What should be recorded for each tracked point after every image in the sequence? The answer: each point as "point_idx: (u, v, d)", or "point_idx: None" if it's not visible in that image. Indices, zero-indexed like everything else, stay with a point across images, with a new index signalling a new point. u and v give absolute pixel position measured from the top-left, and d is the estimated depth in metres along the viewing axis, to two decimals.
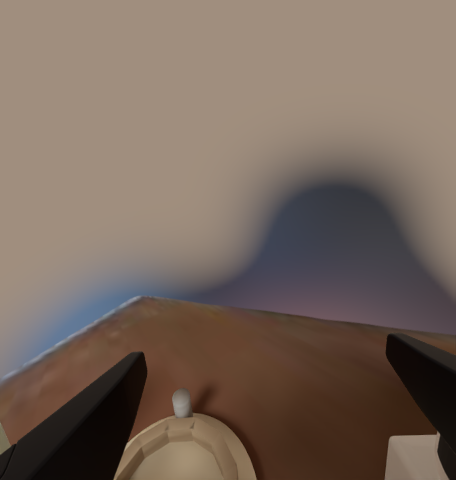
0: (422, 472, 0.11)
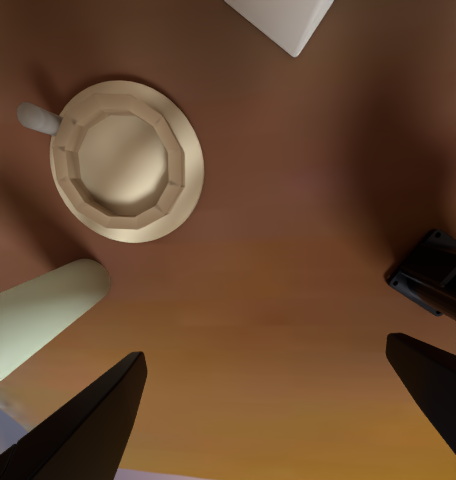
0: None
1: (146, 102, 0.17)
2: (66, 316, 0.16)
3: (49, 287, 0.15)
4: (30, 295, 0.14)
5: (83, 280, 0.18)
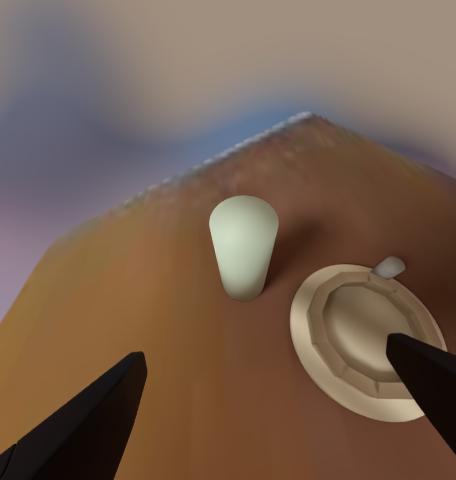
0: None
1: None
2: (242, 281, 0.17)
3: (267, 269, 0.18)
4: (269, 261, 0.17)
5: (258, 287, 0.20)
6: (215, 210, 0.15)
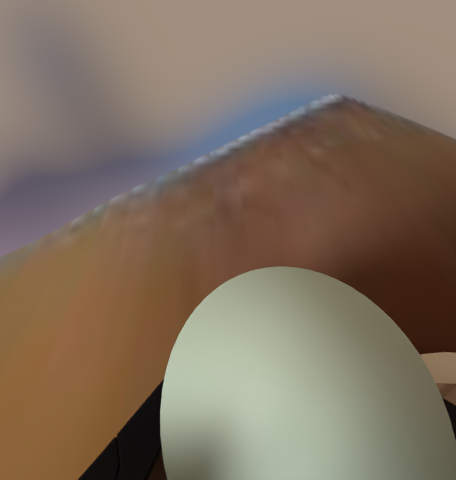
0: None
1: None
2: None
3: None
4: None
5: None
6: (189, 329, 0.04)
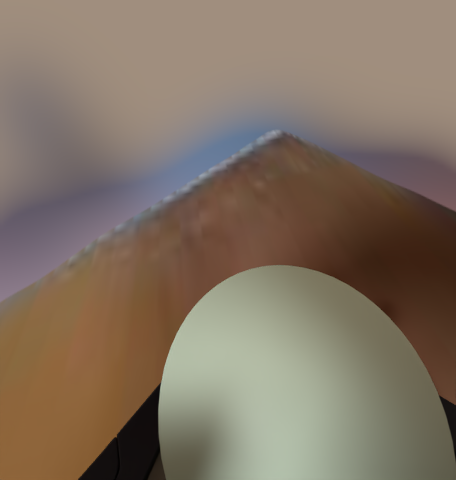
0: None
1: None
2: None
3: None
4: None
5: None
6: (187, 327, 0.04)
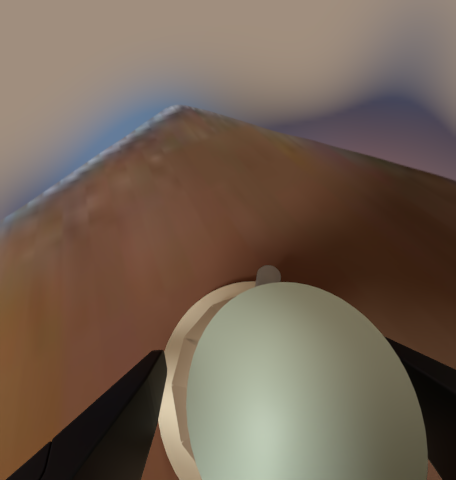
0: None
1: None
2: None
3: None
4: None
5: None
6: (207, 336, 0.05)
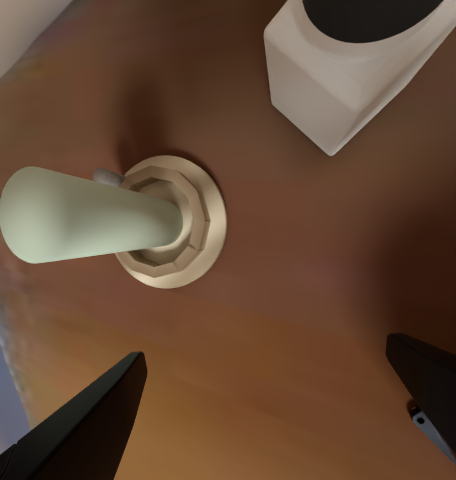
0: (292, 39, 0.11)
1: (189, 175, 0.20)
2: (137, 240, 0.15)
3: (142, 206, 0.15)
4: (127, 202, 0.13)
5: (165, 219, 0.17)
6: (5, 237, 0.11)
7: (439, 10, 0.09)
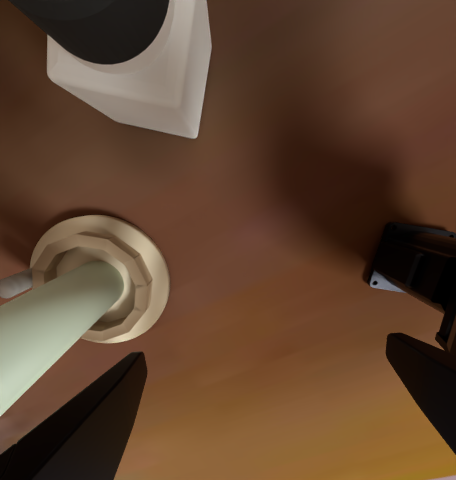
0: (79, 73, 0.11)
1: (91, 228, 0.19)
2: (83, 322, 0.14)
3: (63, 291, 0.14)
4: (44, 301, 0.13)
5: (97, 283, 0.17)
6: None
7: None
